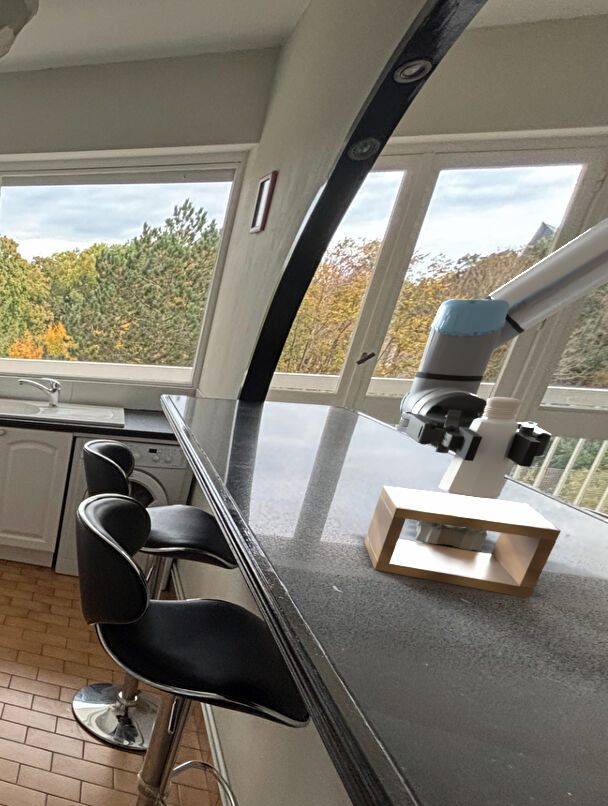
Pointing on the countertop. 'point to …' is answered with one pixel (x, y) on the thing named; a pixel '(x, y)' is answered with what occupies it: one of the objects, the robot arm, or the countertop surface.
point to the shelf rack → (499, 572)
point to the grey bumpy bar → (450, 535)
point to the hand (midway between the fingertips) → (501, 451)
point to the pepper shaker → (485, 452)
